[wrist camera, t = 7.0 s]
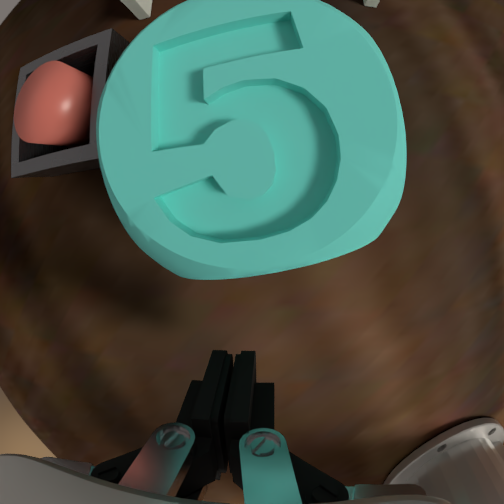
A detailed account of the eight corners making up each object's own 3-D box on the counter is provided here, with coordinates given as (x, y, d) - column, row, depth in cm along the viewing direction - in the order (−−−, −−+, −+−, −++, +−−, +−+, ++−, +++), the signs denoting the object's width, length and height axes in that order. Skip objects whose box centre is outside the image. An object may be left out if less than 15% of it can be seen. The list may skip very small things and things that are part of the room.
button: (112, 70, 13) (76, 49, 9) (109, 140, 13) (68, 132, 10) (58, 89, 13) (19, 76, 10) (54, 153, 14) (11, 150, 10)
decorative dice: (320, 64, 13) (351, -30, 5) (355, 214, 14) (429, 244, 7) (169, 97, 14) (84, 38, 6) (200, 244, 16) (127, 299, 8)
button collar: (143, 55, 14) (112, 28, 10) (140, 162, 15) (102, 157, 11) (58, 81, 14) (20, 67, 10) (53, 176, 15) (11, 177, 12)
